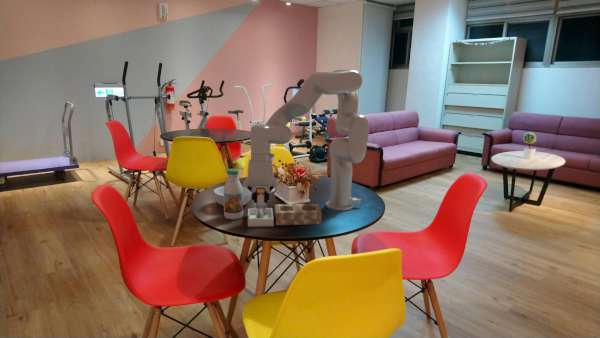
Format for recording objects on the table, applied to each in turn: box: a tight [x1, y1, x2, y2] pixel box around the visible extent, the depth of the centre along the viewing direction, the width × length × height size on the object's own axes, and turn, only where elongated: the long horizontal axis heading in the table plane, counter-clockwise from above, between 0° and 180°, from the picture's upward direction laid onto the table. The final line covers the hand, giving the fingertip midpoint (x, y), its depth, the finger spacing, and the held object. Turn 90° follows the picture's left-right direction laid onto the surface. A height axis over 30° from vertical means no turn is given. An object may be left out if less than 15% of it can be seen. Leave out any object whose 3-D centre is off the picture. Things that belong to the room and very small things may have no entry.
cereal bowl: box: [213, 185, 252, 207], centre depth 166 cm, size 17×17×7 cm
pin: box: [255, 186, 267, 218], centre depth 148 cm, size 4×4×12 cm
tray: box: [247, 207, 275, 228], centre depth 150 cm, size 10×12×3 cm
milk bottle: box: [223, 168, 244, 220], centre depth 151 cm, size 8×8×20 cm
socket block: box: [274, 203, 323, 226], centre depth 151 cm, size 18×10×6 cm, turn 97°
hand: (260, 201), depth 148 cm, fingers closed on pin, 4 cm apart
